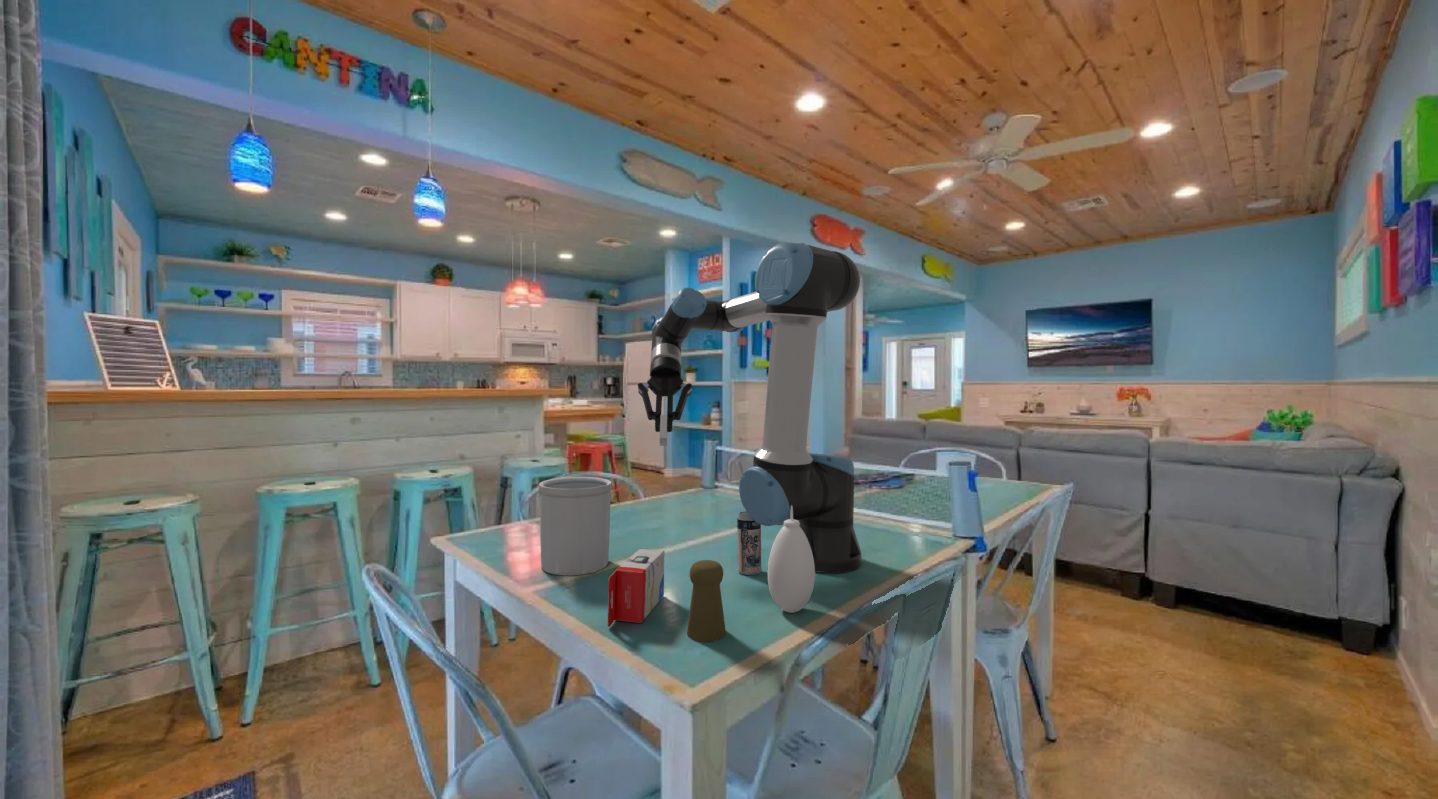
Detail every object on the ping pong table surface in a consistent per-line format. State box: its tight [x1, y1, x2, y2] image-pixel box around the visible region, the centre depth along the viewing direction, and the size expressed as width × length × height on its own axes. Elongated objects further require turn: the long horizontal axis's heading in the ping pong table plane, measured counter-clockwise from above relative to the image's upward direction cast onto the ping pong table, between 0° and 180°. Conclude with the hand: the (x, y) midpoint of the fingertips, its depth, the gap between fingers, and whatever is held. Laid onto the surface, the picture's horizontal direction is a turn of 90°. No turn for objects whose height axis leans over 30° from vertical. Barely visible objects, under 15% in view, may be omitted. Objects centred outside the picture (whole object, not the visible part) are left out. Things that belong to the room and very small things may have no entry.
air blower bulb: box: [767, 505, 816, 614], centre depth 93 cm, size 8×8×18 cm
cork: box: [686, 559, 727, 643], centre depth 85 cm, size 6×6×11 cm
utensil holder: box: [538, 476, 613, 576], centre depth 116 cm, size 15×15×18 cm
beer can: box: [736, 511, 762, 576], centre depth 112 cm, size 5×5×12 cm
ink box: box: [607, 548, 665, 628], centre depth 93 cm, size 8×5×15 cm
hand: (663, 441), depth 120 cm, fingers closed
